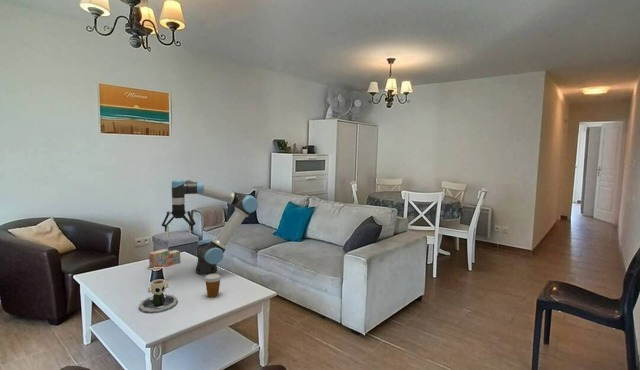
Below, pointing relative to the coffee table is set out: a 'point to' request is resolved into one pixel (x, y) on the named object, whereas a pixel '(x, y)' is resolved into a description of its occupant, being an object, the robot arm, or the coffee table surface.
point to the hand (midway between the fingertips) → (179, 236)
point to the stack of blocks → (164, 258)
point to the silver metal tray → (149, 307)
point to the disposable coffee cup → (212, 284)
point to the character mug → (158, 291)
